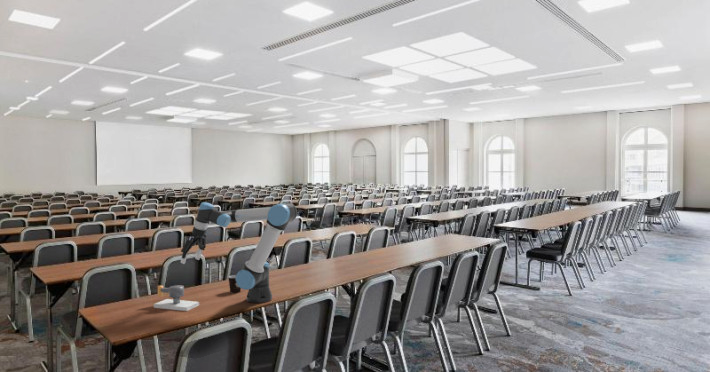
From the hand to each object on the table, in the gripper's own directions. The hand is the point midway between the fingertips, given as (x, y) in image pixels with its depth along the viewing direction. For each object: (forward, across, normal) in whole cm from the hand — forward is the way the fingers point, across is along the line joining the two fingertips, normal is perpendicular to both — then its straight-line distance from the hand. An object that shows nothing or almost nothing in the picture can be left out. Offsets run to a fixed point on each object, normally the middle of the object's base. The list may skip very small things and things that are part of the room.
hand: (189, 261), depth 261 cm
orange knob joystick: (+20, +10, +1) cm, 23 cm away
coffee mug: (+18, -28, +22) cm, 40 cm away
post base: (+24, +10, +7) cm, 26 cm away
